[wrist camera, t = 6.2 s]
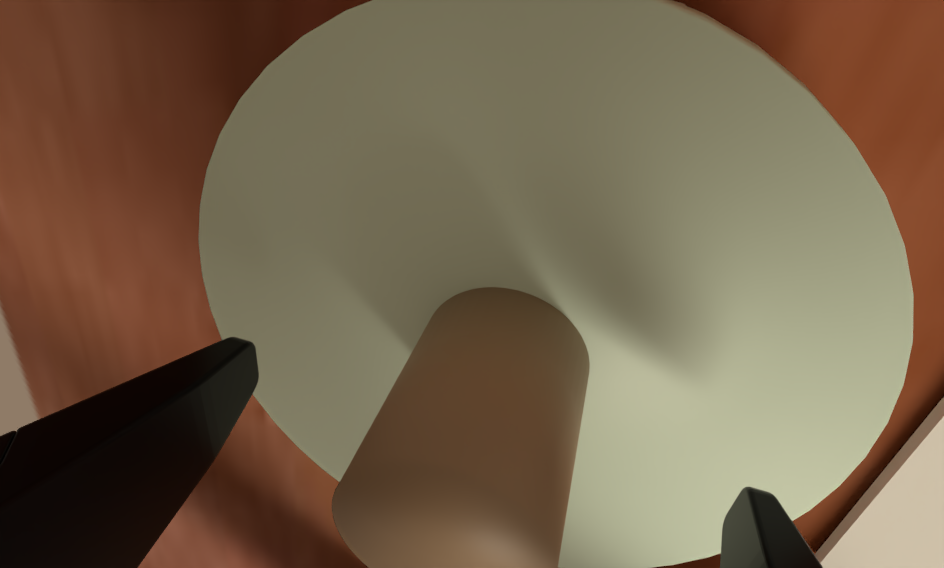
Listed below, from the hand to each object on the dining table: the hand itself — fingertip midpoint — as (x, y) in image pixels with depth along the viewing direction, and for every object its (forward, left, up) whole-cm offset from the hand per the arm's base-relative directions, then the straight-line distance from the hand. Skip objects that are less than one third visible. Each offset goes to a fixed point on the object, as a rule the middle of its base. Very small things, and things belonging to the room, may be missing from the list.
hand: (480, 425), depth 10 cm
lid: (0, 0, -2) cm, 3 cm away
